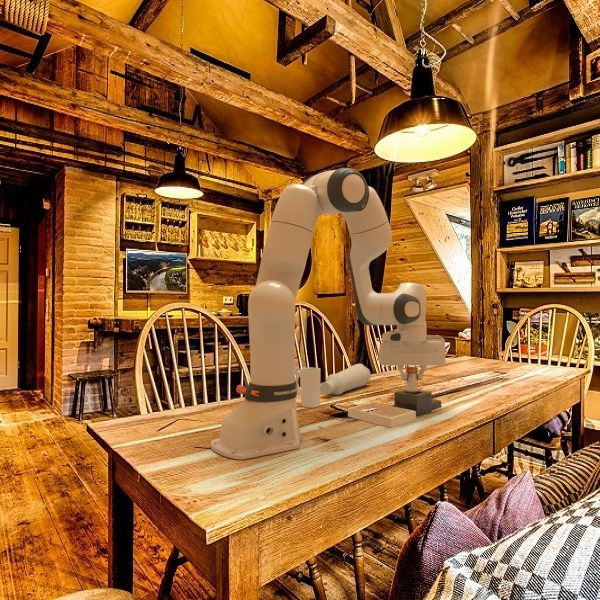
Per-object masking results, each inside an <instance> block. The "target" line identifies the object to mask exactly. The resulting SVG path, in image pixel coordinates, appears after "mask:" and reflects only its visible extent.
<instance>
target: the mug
mask: <svg viewBox="0 0 600 600" xmlns="http://www.w3.org/2000/svg"><path fill="white" fill-rule="evenodd" d="M299 378H300V379H299ZM295 381H296V382H297V396H300V406H301V407H302V408H308V409H310V408H311V409H314V408H319V407H320V406H321V391H320V385H321V368H320V367H302V368H299V370H297V371H296V374H295ZM299 383H300V385H299Z"/></svg>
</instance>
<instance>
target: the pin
mask: <svg viewBox="0 0 600 600" xmlns="http://www.w3.org/2000/svg"><path fill="white" fill-rule="evenodd" d="M405 374H407V380H405V390H406V393H410V394H418V390H419V389H418V387H419V386H418V380H417V374H418V366H417V367H416V366H405Z"/></svg>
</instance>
